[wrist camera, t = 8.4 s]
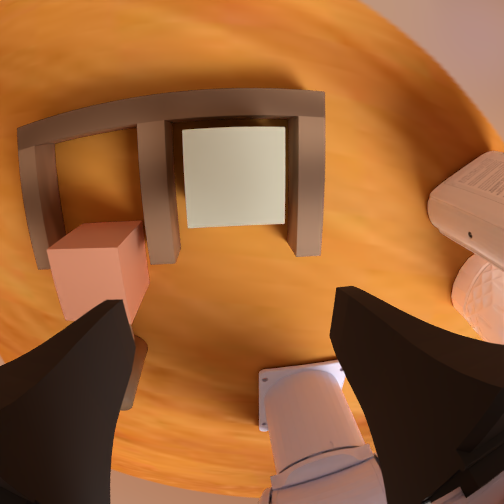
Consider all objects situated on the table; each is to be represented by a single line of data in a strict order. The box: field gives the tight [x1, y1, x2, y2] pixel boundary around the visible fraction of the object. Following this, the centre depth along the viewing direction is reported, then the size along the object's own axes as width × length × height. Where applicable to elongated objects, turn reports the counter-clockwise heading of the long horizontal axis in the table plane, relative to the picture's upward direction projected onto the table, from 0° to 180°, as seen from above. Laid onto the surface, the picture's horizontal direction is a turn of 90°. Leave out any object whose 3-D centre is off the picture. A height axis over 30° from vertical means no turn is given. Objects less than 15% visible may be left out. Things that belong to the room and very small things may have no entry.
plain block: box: [182, 127, 285, 228], centre depth 15 cm, size 4×4×5 cm
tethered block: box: [47, 220, 150, 410], centre depth 17 cm, size 11×4×6 cm, turn 179°
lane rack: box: [17, 88, 325, 270], centre depth 16 cm, size 10×18×2 cm, turn 91°
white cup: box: [451, 254, 504, 345], centre depth 18 cm, size 8×8×10 cm
